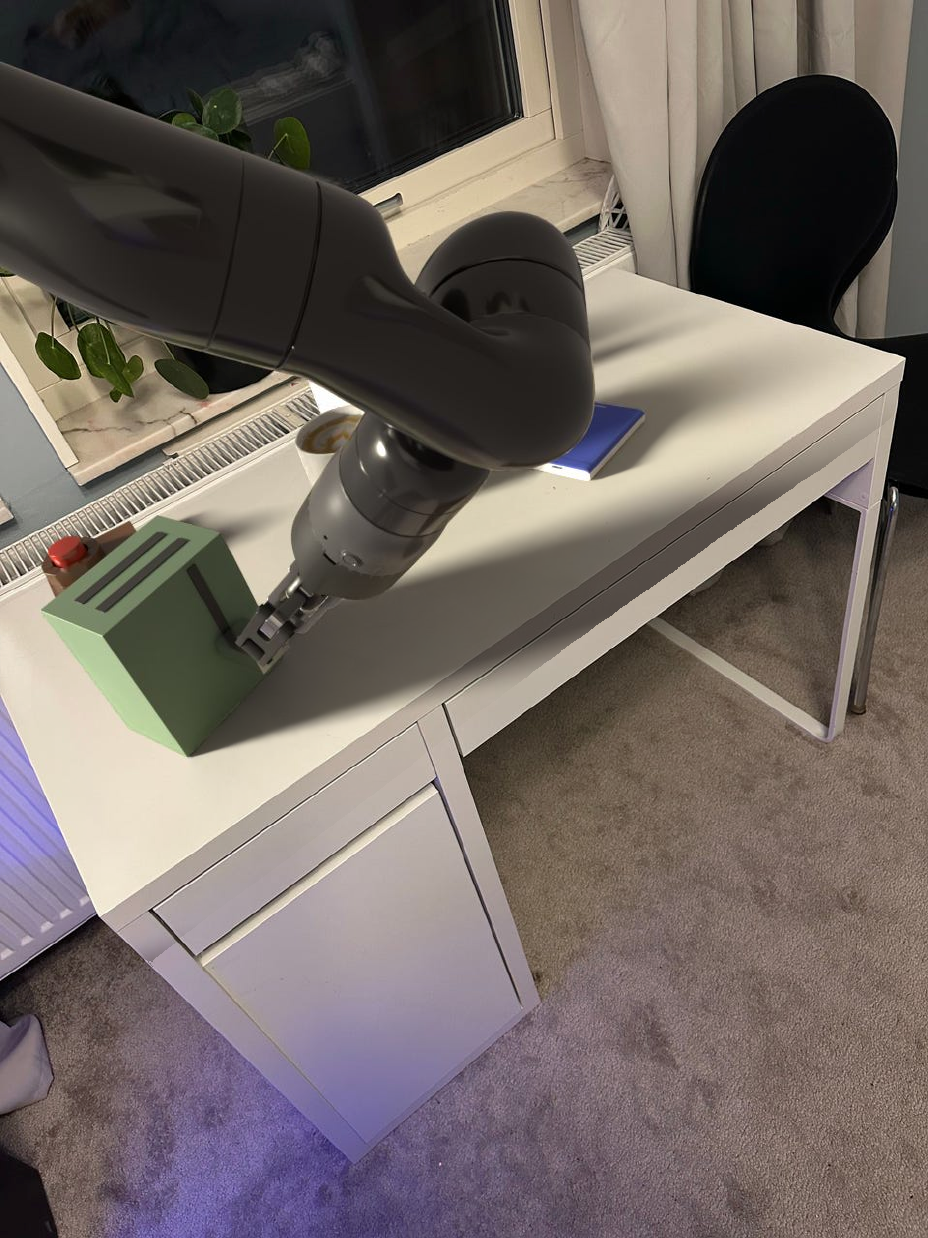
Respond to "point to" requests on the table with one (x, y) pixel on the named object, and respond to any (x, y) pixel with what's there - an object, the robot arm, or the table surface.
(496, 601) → the table surface
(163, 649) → the toaster
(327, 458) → the coffee mug
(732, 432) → the table surface
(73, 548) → the power button
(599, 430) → the hard drive
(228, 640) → the toaster lever
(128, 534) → the switch block
